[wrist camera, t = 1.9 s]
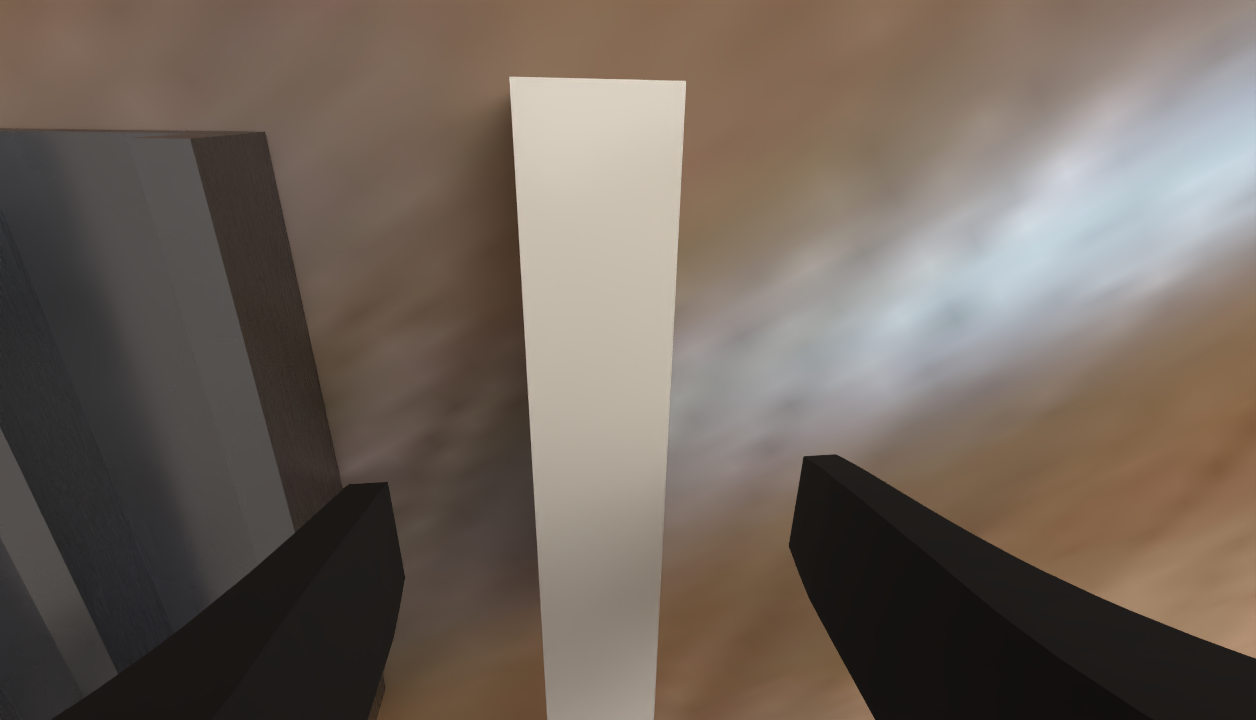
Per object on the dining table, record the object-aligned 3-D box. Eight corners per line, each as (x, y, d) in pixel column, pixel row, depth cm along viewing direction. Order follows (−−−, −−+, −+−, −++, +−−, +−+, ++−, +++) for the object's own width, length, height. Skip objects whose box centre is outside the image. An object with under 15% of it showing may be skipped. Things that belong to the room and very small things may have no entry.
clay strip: (622, 552, 19) (653, 726, 14) (547, 558, 19) (548, 739, 14) (629, 91, 14) (686, 81, 8) (522, 88, 13) (509, 76, 8)
